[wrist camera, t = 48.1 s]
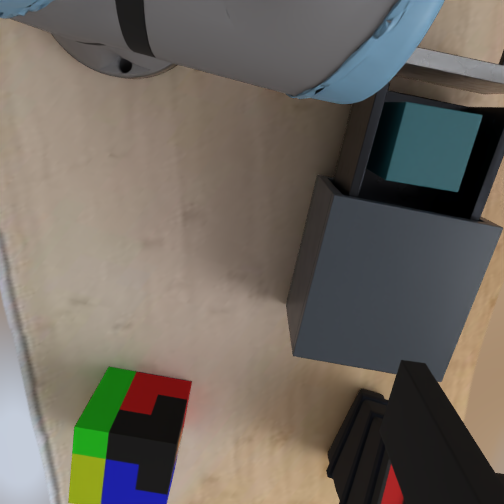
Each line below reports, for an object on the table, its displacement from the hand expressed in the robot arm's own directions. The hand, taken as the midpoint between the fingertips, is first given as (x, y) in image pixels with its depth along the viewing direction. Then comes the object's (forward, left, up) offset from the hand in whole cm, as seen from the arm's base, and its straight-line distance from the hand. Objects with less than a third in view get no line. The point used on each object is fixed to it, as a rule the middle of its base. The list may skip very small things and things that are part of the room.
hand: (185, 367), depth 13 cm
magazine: (+31, -10, -32) cm, 46 cm away
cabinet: (+15, +4, -32) cm, 35 cm away
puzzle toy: (+12, -28, -32) cm, 44 cm away
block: (+8, +14, -30) cm, 34 cm away
